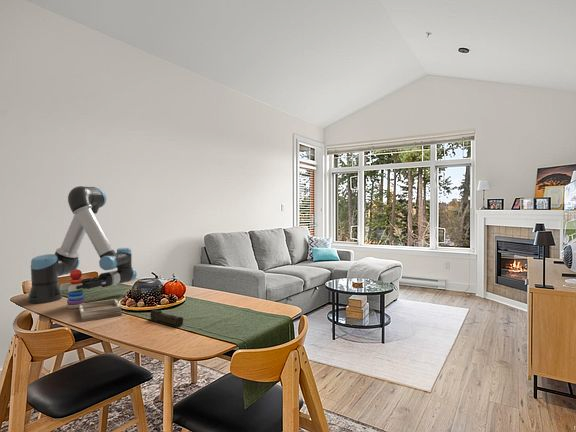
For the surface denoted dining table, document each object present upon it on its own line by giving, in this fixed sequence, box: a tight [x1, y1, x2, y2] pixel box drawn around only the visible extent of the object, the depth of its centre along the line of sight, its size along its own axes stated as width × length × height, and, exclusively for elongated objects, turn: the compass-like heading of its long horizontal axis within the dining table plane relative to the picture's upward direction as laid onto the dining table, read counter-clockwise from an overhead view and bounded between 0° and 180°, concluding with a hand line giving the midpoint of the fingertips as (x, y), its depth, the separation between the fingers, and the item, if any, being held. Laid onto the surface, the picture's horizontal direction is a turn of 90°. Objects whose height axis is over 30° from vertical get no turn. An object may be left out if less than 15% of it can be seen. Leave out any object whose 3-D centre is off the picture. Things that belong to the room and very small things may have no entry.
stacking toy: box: [66, 268, 86, 310], centre depth 176 cm, size 8×8×19 cm
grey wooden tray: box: [78, 298, 123, 323], centre depth 167 cm, size 20×16×4 cm
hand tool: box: [150, 309, 184, 328], centre depth 154 cm, size 19×4×5 cm, turn 56°
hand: (64, 288), depth 172 cm, fingers closed on stacking toy, 6 cm apart
